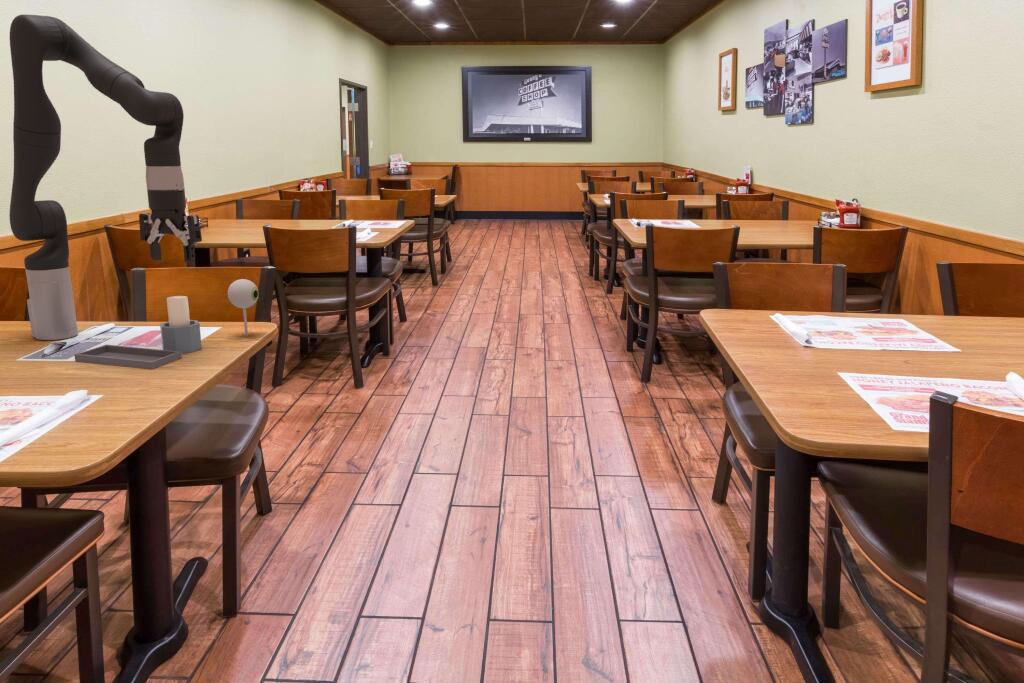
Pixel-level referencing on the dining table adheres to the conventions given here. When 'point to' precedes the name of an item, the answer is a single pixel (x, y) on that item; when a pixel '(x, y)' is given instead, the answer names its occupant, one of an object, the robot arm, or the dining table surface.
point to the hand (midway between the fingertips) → (173, 261)
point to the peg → (178, 311)
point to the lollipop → (243, 296)
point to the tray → (128, 356)
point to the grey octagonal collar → (181, 337)
